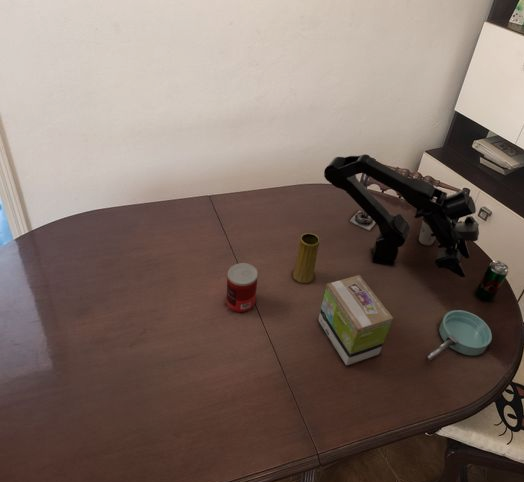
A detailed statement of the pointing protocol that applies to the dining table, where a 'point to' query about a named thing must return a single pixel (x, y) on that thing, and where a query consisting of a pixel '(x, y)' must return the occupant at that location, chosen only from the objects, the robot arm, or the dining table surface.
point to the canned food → (241, 287)
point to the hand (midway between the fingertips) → (465, 266)
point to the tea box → (354, 319)
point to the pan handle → (442, 347)
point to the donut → (363, 220)
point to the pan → (466, 332)
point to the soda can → (492, 280)
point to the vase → (306, 258)
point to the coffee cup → (426, 234)
